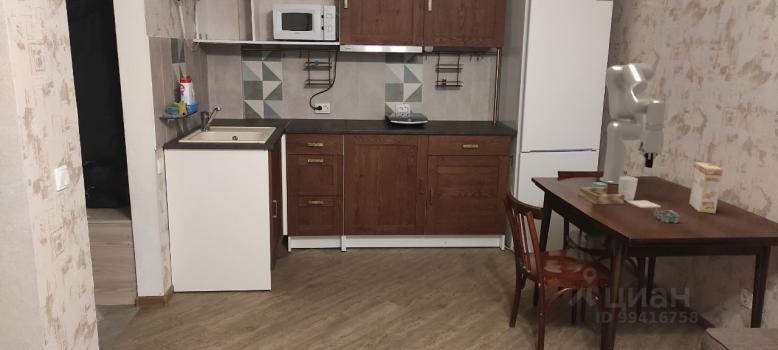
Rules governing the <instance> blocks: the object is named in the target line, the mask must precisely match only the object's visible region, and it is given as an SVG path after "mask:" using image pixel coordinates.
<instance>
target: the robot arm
mask: <svg viewBox="0 0 778 350" xmlns="http://www.w3.org/2000/svg"><path fill="white" fill-rule="evenodd" d="M605 71H606V72H605V79H604V80H605V81H604V82H605V86H606V88H607V89H606V90H607V93H608V110H609V115H610V118H612V119H615V121H612V122H610V123H609V124H608V125H607V129H606V134H607V139H606V140H607V142H606V143H607V144H606V151H605V160H604V169H603V176H601V177H599V182H601V183H605V184H612V185H614V184H615V185H619V177H621V176H628V177H632V175H631V174H626V173H624V172H625V164H626V157H627V147H626V144H625V143H624V141H639V142H638V147H637V148H638V149H637V150H638V151H639V153H638V154H639V155H641V156H643V157H644V159H645V162H644V167H645V168H648V169H652V168H653V165H654V160H656V158H657V156H660V155H662V152H663V151H664V150H663V149H664V143H665V142H664V141H665V139H664V136H665V135H664V129H665V127H666V126H665V125H664V122H665V114H666V108H667V103H666V101H664V100H660V99H657V98H647V97H646V98H645V97H644V98H642V97H636V96H639V95H641V94H642V93H644V92H645V91H647V89H648V86H649V83H648V82H649V81H651V80H652V79H654V78H653V77H654V75H655V70H654V67H653V65H651V64H650V63H642V62H641V63H640V62H629V63H627V64H625V65H622V64H621V65H619V64H618V65H617V64H616V65H612V66H609V67H608V68H607V69H606V70H605ZM621 83H626V85H627V87H628V88H627V90H626V89H625V87H624V86H623V84H621ZM644 115H645V116H646V117H645V122H644V117H643V116H644ZM623 120H624V121H623ZM626 120H627V121H626ZM644 123H645V124H644Z"/></svg>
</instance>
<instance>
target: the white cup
mask: <svg viewBox="0 0 778 350" xmlns="http://www.w3.org/2000/svg"><path fill="white" fill-rule="evenodd" d="M638 180H639V178H638V177H635V176H631V177H628V176H621V177H619V184H618V190H617V191H618V194H623V195H624V201H626V202H627V201H635V195H636V191H637V185H638V182H639V181H638Z"/></svg>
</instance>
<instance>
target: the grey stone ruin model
mask: <svg viewBox="0 0 778 350" xmlns="http://www.w3.org/2000/svg"><path fill="white" fill-rule="evenodd" d="M653 209H655V210H654V211H653V217H654V218H657V220H660V222H661V223H673V224H678V223H679V221H680V220H679V219H680V216H681V215H680V214H678V213H677V212H675V211H674V210H672V209H670V210H668V209H665V210H664V209H662V210H661V211H660V208H656V207H654V208H653Z"/></svg>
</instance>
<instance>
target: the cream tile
mask: <svg viewBox="0 0 778 350" xmlns="http://www.w3.org/2000/svg"><path fill="white" fill-rule="evenodd" d="M626 203H628V204H630V205H633V206H635V207H637V208H640V209H655V208H654V207H656V208H657V209H660V208H661V207H662V206H661V205H659V204H658V203H654V202H651V201H649V200H646V199H645V200H643V199H642V200H633V201H626Z"/></svg>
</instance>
